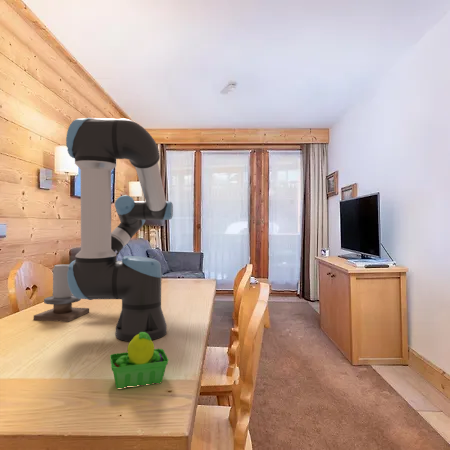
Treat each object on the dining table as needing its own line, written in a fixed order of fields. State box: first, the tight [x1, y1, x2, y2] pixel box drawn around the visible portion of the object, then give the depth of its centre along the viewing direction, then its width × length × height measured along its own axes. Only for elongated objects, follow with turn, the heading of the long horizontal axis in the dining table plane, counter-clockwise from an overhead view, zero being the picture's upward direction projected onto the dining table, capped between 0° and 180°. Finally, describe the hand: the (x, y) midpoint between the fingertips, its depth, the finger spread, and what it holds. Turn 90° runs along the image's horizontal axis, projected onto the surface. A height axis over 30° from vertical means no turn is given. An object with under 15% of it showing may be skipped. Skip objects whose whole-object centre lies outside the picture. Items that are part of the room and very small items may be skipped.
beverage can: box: [52, 263, 73, 299], centre depth 120 cm, size 6×6×12 cm
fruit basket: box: [109, 332, 169, 389], centre depth 69 cm, size 11×9×11 cm
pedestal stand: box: [33, 294, 90, 323], centre depth 120 cm, size 13×13×6 cm
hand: (79, 282), depth 124 cm, fingers open, 13 cm apart
